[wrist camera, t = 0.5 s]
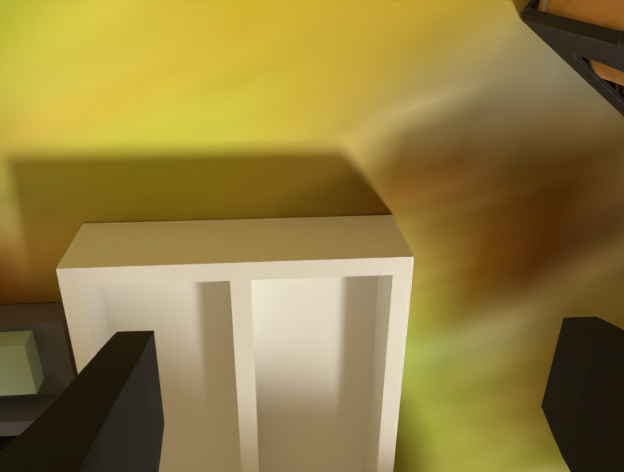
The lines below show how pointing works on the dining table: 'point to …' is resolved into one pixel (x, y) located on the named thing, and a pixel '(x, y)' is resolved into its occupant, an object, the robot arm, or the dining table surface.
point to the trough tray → (255, 334)
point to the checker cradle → (32, 362)
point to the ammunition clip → (585, 40)
